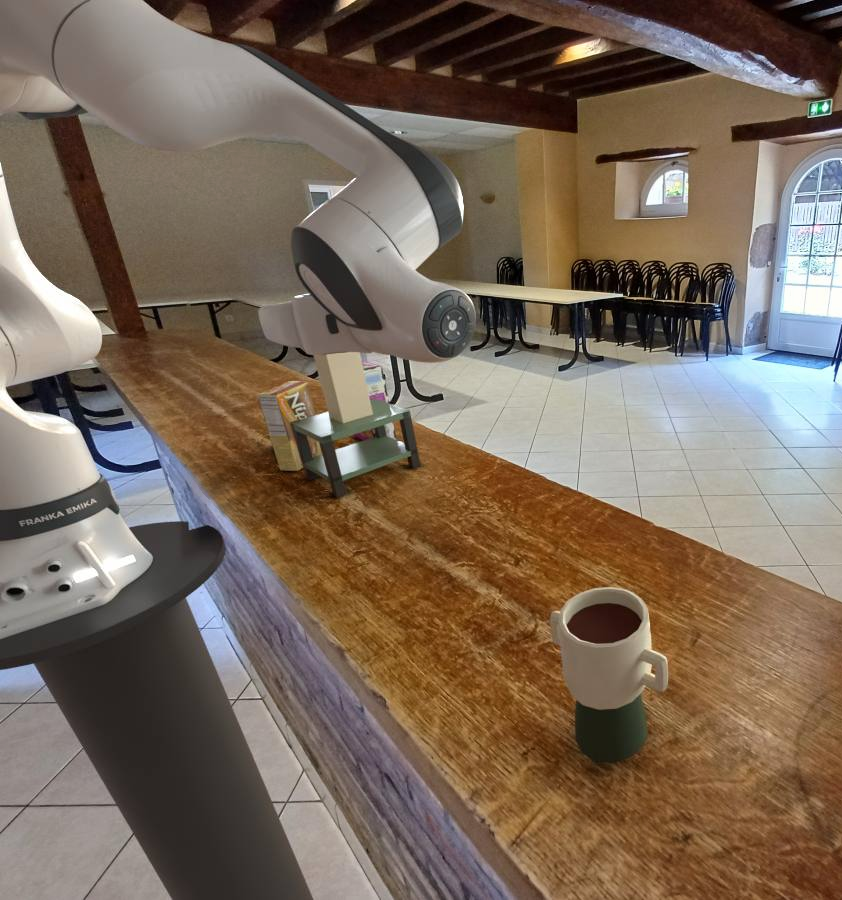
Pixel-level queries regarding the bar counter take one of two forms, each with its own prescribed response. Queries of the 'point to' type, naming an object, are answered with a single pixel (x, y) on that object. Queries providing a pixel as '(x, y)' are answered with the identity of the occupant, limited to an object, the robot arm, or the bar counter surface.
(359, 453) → the rack
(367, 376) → the candy bar box
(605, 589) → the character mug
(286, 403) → the candy box
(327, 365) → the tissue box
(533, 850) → the bar counter surface
